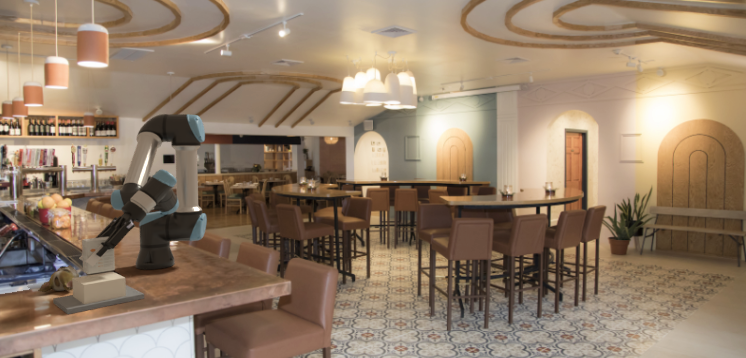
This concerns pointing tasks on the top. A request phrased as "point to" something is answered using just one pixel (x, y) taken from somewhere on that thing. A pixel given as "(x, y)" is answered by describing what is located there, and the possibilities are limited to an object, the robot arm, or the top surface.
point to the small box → (106, 260)
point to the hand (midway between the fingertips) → (85, 262)
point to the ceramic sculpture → (60, 279)
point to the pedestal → (97, 293)
